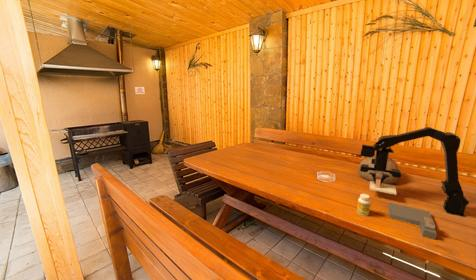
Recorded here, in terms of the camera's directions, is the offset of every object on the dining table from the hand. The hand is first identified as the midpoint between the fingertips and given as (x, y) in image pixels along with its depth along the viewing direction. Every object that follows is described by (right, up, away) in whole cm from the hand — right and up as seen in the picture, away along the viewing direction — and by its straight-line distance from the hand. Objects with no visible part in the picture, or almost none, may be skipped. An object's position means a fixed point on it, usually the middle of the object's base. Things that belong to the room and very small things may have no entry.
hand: (377, 184), depth 117 cm
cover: (+2, -2, -1) cm, 3 cm away
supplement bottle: (-18, -11, -15) cm, 26 cm away
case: (+1, -12, -22) cm, 25 cm away
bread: (+17, 0, +25) cm, 30 cm away
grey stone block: (+2, -11, -30) cm, 32 cm away
